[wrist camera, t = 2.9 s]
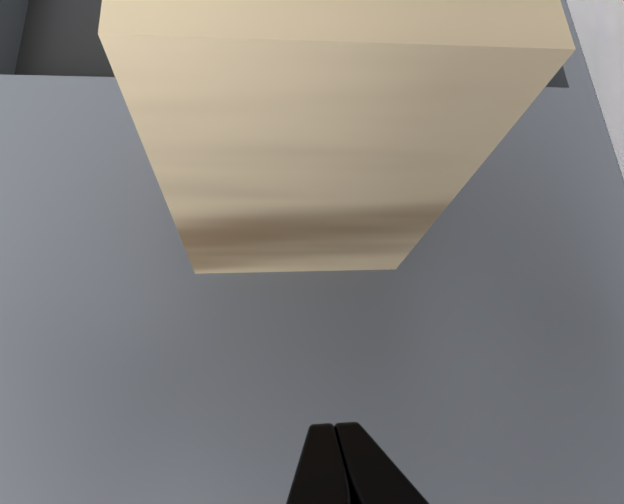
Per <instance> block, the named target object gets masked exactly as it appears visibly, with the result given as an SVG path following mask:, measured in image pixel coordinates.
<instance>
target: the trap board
mask: <svg viewBox="0 0 624 504" xmlns="http://www.w3.org/2000/svg"><path fill="white" fill-rule="evenodd" d="M560 1H561V4H562V7H563V10H564V13H565V17H566V20H567V23H568V26H569V29H570V33H571V36H572V39H573V42H574V45H575V48H576V50H575V51H574V52H573V53H572V55H571V56H570V57H569V58H568V60H567V61H566V62H565V63H564V64H563V66H562V67H561V68H560V69H559V71H558V72H557V73H556V74H555V75H554V77H553V78H552V79H551V80H550V82H549V83H548V84H547V85H546V86H545V88H544V89H543V90H542V91H541V93H540V94H539V95H538V96H537V97H536V99H535V100H534V101H533V102H532V104H531V105H530V106H529V107H528V108H527V110H526V111H525V112H524V113H523V115H522V116H521V117H520V118H519V119H518V121H517V122H516V123H515V124H514V126H513V127H512V128H511V129H510V130H509V132H508V133H507V134H506V135H505V137H504V138H503V139H502V140H501V141H500V143H499V144H498V145H497V146H496V148H495V149H494V150H493V151H492V152H491V154H490V155H489V156H488V157H487V159H486V160H485V161H484V162H483V163H482V165H481V166H480V167H479V168H478V170H477V171H476V172H475V173H474V174H473V176H472V177H471V178H470V179H469V181H468V182H467V183H466V184H465V185H464V187H463V188H462V189H461V190H460V192H459V193H458V194H457V195H456V196H455V198H454V199H453V200H452V201H451V203H450V204H449V205H448V206H447V207H446V209H445V210H444V211H443V212H442V214H441V215H440V216H439V217H438V218H437V220H436V221H435V222H434V223H433V225H432V226H431V227H430V228H429V229H428V231H427V232H426V233H425V234H424V236H423V237H422V238H421V239H420V240H419V242H418V243H417V244H416V245H415V247H414V248H413V249H412V250H411V251H410V253H409V254H408V255H407V256H406V258H405V259H404V260H403V261H402V262H401V264H400V265H399V266H398V267H397V269H390V270H344V271H297V272H251V273H204V274H195V272H194V270H193V267H192V265H191V262H190V260H189V258H188V255H187V253H186V250H185V248H184V245H183V243H182V240H181V238H180V235H179V233H178V230H177V228H176V225H175V223H174V221H173V218H172V216H171V213H170V211H169V208H168V206H167V203H166V201H165V198H164V196H163V193H162V191H161V188H160V186H159V184H158V181H157V179H156V176H155V174H154V171H153V169H152V166H151V164H150V161H149V159H148V156H147V154H146V151H145V149H144V147H143V144H142V142H141V139H140V137H139V134H138V132H137V129H136V127H135V124H134V122H133V119H132V117H131V114H130V112H129V110H128V107H127V105H126V102H125V100H124V97H123V95H122V92H121V90H120V87H119V85H118V82H117V80H116V77H115V75H114V73H113V70H112V68H111V65H110V63H109V60H108V58H107V55H106V53H105V50H104V48H103V45H102V43H101V40H100V38H99V36H98V28H99V20H100V12H101V4H102V0H0V504H286V502H287V498H288V495H289V492H290V488H291V485H292V482H293V478H294V475H295V472H296V468H297V465H298V462H299V458H300V455H301V452H302V448H303V445H304V442H305V438H306V435H307V432H308V428H309V426H310V425H312V424H322V423H331V424H333V426H334V425H335V424H336V423H340V422H358V423H359V424H360V425H361V426H362V427H363V428H364V429H365V430H366V431H367V433H368V434H369V435H370V436H371V437H372V438H373V439H374V441H375V442H376V443H377V444H378V445H379V446H380V447H381V449H382V450H383V451H384V452H385V453H386V454H387V456H388V457H389V458H390V459H391V460H392V461H393V462H394V464H395V465H396V466H397V467H398V468H399V469H400V470H401V472H402V473H403V474H404V475H405V476H406V477H407V478H408V480H409V481H410V482H411V483H412V484H413V485H414V487H415V488H416V489H417V490H418V491H419V492H420V493H421V495H422V496H423V497H424V498H425V499H426V500H427V501H428V503H429V504H624V180H623V177H622V174H621V170H620V167H619V164H618V161H617V158H616V155H615V152H614V149H613V145H612V142H611V139H610V136H609V133H608V130H607V127H606V124H605V120H604V117H603V114H602V111H601V108H600V105H599V102H598V98H597V95H596V92H595V89H594V86H593V83H592V80H591V77H590V73H589V70H588V67H587V64H586V61H585V58H584V55H583V52H582V48H581V45H580V42H579V39H578V36H577V33H576V30H575V27H574V23H573V20H572V17H571V14H570V11H569V8H568V5H567V2H566V0H560Z"/></svg>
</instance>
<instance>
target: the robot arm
mask: <svg viewBox="0 0 624 504" xmlns="http://www.w3.org/2000/svg"><path fill="white" fill-rule="evenodd" d="M286 504H429V503H428V501H427V500H426V499H425V498H424V497H423V496H422V495H421V493H420V492H419V491H418V490H417V489H416V488H415V487H414V485H413V484H412V483H411V482H410V481H409V480H408V478H407V477H406V476H405V475H404V474H403V473H402V472H401V470H400V469H399V468H398V467H397V466H396V465H395V464H394V462H393V461H392V460H391V459H390V458H389V457H388V456H387V454H386V453H385V452H384V451H383V450H382V449H381V447H380V446H379V445H378V444H377V443H376V442H375V441H374V439H373V438H372V437H371V436H370V435H369V434H368V433H367V431H366V430H365V429H364V428H363V427H362V426H361V425H360V424H359V423H358V422H340V423H336V424H335V425H334V426H333V424H331V423H322V424H312V425H310V426H309V428H308V432H307V435H306V438H305V442H304V445H303V448H302V452H301V455H300V458H299V462H298V465H297V468H296V472H295V475H294V478H293V482H292V485H291V488H290V492H289V495H288V498H287V502H286Z"/></svg>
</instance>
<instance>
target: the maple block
mask: <svg viewBox="0 0 624 504" xmlns="http://www.w3.org/2000/svg"><path fill="white" fill-rule="evenodd" d="M98 36H99V38H100V40H101V43H102V45H103V48H104V50H105V53H106V55H107V58H108V60H109V63H110V65H111V68H112V70H113V73H114V75H115V77H116V80H117V82H118V85H119V87H120V90H121V92H122V95H123V97H124V100H125V102H126V105H127V107H128V110H129V112H130V114H131V117H132V119H133V122H134V124H135V127H136V129H137V132H138V134H139V137H140V139H141V142H142V144H143V147H144V149H145V151H146V154H147V156H148V159H149V161H150V164H151V166H152V169H153V171H154V174H155V176H156V179H157V181H158V184H159V186H160V188H161V191H162V193H163V196H164V198H165V201H166V203H167V206H168V208H169V211H170V213H171V216H172V218H173V221H174V223H175V225H176V228H177V230H178V233H179V235H180V238H181V240H182V243H183V245H184V248H185V250H186V253H187V255H188V258H189V260H190V262H191V265H192V267H193V270H194V272H195V274H204V273H251V272H297V271H344V270H390V269H397V267H398V266H399V265H400V264H401V262H402V261H403V260H404V259H405V258H406V256H407V255H408V254H409V253H410V251H411V250H412V249H413V248H414V247H415V245H416V244H417V243H418V242H419V240H420V239H421V238H422V237H423V236H424V234H425V233H426V232H427V231H428V229H429V228H430V227H431V226H432V225H433V223H434V222H435V221H436V220H437V218H438V217H439V216H440V215H441V214H442V212H443V211H444V210H445V209H446V207H447V206H448V205H449V204H450V203H451V201H452V200H453V199H454V198H455V196H456V195H457V194H458V193H459V192H460V190H461V189H462V188H463V187H464V185H465V184H466V183H467V182H468V181H469V179H470V178H471V177H472V176H473V174H474V173H475V172H476V171H477V170H478V168H479V167H480V166H481V165H482V163H483V162H484V161H485V160H486V159H487V157H488V156H489V155H490V154H491V152H492V151H493V150H494V149H495V148H496V146H497V145H498V144H499V143H500V141H501V140H502V139H503V138H504V137H505V135H506V134H507V133H508V132H509V130H510V129H511V128H512V127H513V126H514V124H515V123H516V122H517V121H518V119H519V118H520V117H521V116H522V115H523V113H524V112H525V111H526V110H527V108H528V107H529V106H530V105H531V104H532V102H533V101H534V100H535V99H536V97H537V96H538V95H539V94H540V93H541V91H542V90H543V89H544V88H545V86H546V85H547V84H548V83H549V82H550V80H551V79H552V78H553V77H554V75H555V74H556V73H557V72H558V71H559V69H560V68H561V67H562V66H563V64H564V63H565V62H566V61H567V60H568V58H569V57H570V56H571V55H572V53H573V52H574V51H575V50H576V48H575V45H574V42H573V39H572V36H571V33H570V29H569V26H568V23H567V20H566V17H565V13H564V10H563V7H562V4H561V1H560V0H102V4H101V12H100V20H99V28H98Z"/></svg>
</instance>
